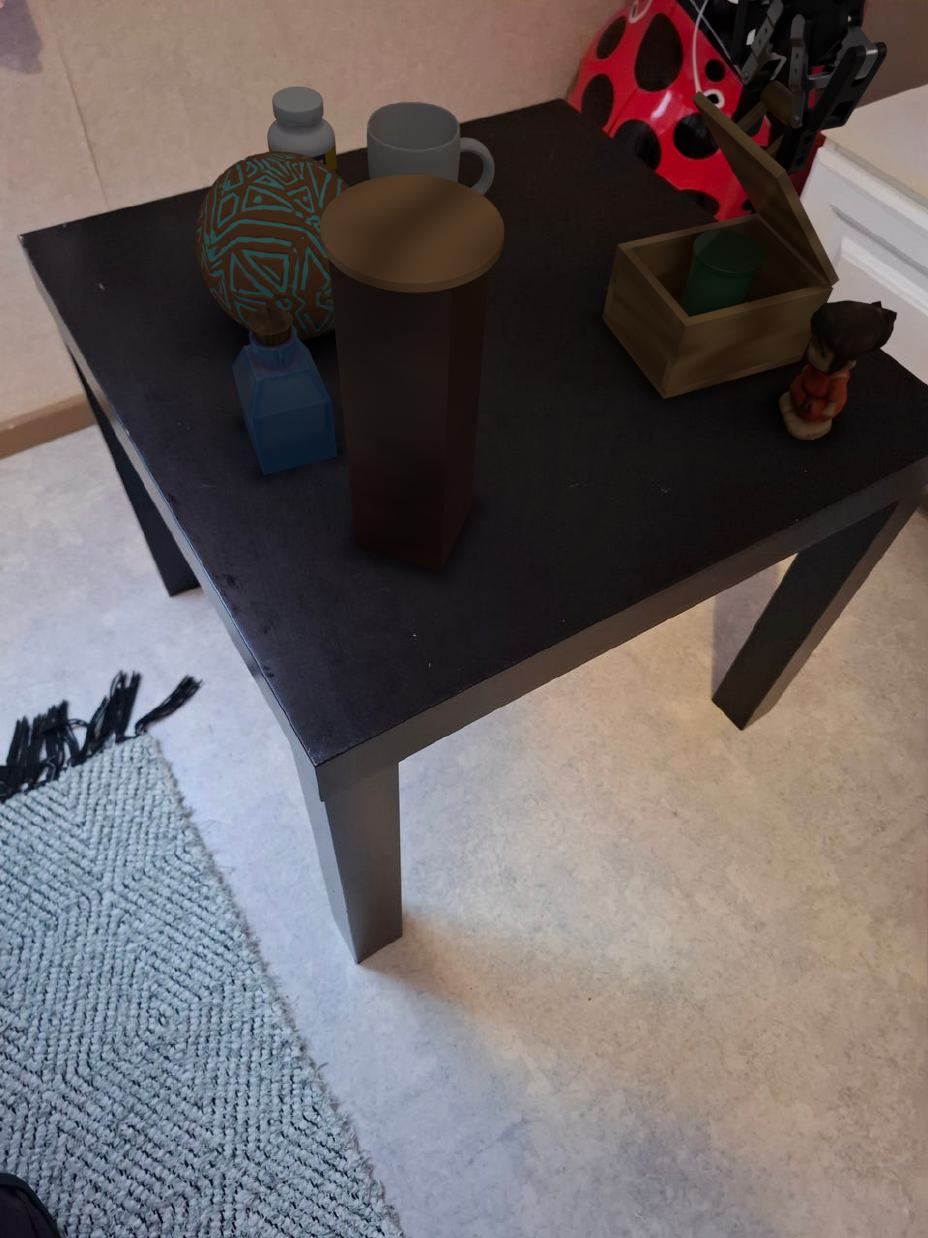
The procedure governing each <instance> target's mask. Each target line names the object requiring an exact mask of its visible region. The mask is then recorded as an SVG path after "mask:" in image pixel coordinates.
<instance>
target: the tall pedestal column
mask: <svg viewBox="0 0 928 1238" xmlns="http://www.w3.org/2000/svg"><path fill="white" fill-rule="evenodd" d="M349 187H350V188H348V189H346V190H345V191H343V192H342V193H340V194H339V195H338V196H336V197H335V198H334V199H333V200H332V201H331V202H330V203H329V204H328V206H327V207H326V209H325V210H324V212H323V215H322V217H321V221H320V237H321V243H322V247H323V250H324V252H325V253H326V255H327V257H328V260H329V271H330V281H331V292H332V302H333V313H334V323H335V329H334V331H335V341H336V342H335V343H336V353H337V364H338V373H339V384H340V394H341V395H340V396H341V403H342V404H341V405H342V406H341V407H342V415H343V416H342V417H343V426H344V438H345V447H346V458H347V467H348V478H349V489H350V501H351V510H352V511H351V512H352V520H353V521H352V522H353V531H354V541H355V547H356V548H359V549H362V550H365V551H368V552H372V553H374V554H377V555H378V554H379V555H381V556H384V557H388V558H390V559H394V560H397V561H400V562H403V563H407V564H410V565H414V566H417V567H420V568H423V569H427V570H430V571H433V572H437V573H439V574H441V573H443V570H444V568H445V565H446V563H447V561H448V559H449V556H450V554H451V552H452V550H453V547H454V545H455V543H456V542H457V538H458V537H459V534H460V532H461V530H462V528H463V526H464V523H465V521H466V519H467V517H468V514H469V512H470V510H471V508H472V497H473V496H472V495H473V481H474V471H475V469H474V468H475V455H476V454H475V453H476V441H477V429H478V418H479V417H478V415H479V404H480V402H479V401H480V390H481V376H482V366H483V365H482V362H483V351H484V349H483V348H484V337H485V324H486V323H485V322H486V310H487V298H488V284H489V272H490V271H489V270H490V269H491V268H492V267H493V266H494V265H495V264H496V262H497V261H498V259H499V258H500V256H501V254H502V252H503V248H504V244H505V225H504V219H503V217H502V216H501V213H500V211H499V210H498V209H497V207H496V206H495V205H494V204H493V203H492V202H491V201H490V200H489V199H488V198H486V196H485V195H484V196H483V195H481V194H480V193H478V192H476V191H475V190H473V189H471V187H469V186H467V185H465V184H462V183H460V182H458V181H457V182H454V181H451V180H447V179H443V178H438V177H433V176H425V175H393V176H385V177H379V178H375V179H371V180H370V179H368V180H365V181H362V182H359V183H356V184H354V185H352V186H349Z"/></svg>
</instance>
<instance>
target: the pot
mask: <svg viewBox="0 0 928 1238" xmlns="http://www.w3.org/2000/svg"><path fill="white" fill-rule="evenodd" d="M692 255H693V258H692V262H691V265H690V269H689V272H688V275H687V279H686V282H685V286H684V289H683V293H682V296H681V299H680V303H679V305H680V307H681V308H682V309H683V310H684V311H685V312H686V314H687V315H688V316H689V317H693V316H696V315H700V314H704V313H708V312H712V311H716V310H720V309H724V308H728V307H732V306H736V305H740V304H744V303H745V302H746V300H747V297H748V294H749V291H750V289H751V286H752V283H753V280H754V278H755V275H756V272H758V271H759V270H760V268H761V267H762V264H763V262H764V258H765V254H764V250H763V248H762V247H761V246H760V244H759V243H758V242H756V241H755V240H754V239H752V238H751V237H749V236H747V235H745V234H742V233H740V232H736V231H731V230H712V231H708V232H705V233H703V234H701V235H699V236H698V237H697V238H696V240H695V242H694V244H693V248H692Z"/></svg>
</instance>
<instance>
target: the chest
mask: <svg viewBox="0 0 928 1238" xmlns="http://www.w3.org/2000/svg"><path fill="white" fill-rule="evenodd" d="M712 230H731V231H736V232H740V233H742V234H745V235H747V236H749V237H751V238H752V239H754V240H755V241H756V242H758V243H759V244H760V246H761V247H762V248H763V250H764V254H765V258H764V262H763V264H762V267H761V268H760V270H759V271H758V272H756V275H755V278H754V280H753V283H752V286H751V289H750V291H749V294H748V297H747V300H746V302H745V303H744V304H740V305H736V306H732V307H728V308H724V309H720V310H716V311H712V312H708V313H704V314H700V315H696V316H693V317H689V316H688V315H687V314H686V312H685V311H684V310H683V309H682V308H681V307H680V305H679V303H680V299H681V296H682V293H683V289H684V286H685V282H686V279H687V275H688V272H689V269H690V265H691V262H692V258H693V255H692V248H693V244H694V242H695V240H696V238H697V237H698V236H699V235H701V234H703V233H705V232H708V231H712ZM615 249H616V250H615V255H614V260H613V264H612V269H611V273H610V280H609V282H608V288H607V292H606V298H605V301H604V302H605V303H604V306H603V312H602V318H601V319H602V321H603V322H604V323H605V324H606V326H607V327H608V329H609V330H610V331H611V333H612V334H613V335H614V336H615V338H616V339H617V340H618V342H619V343H620V344H621V345H622V347H623V348H624V349H625V351H626V352H627V353H628V355H629V356H630V357H631V358H632V360H633V361H634V362H635V364H636V365H637V367H638V368H639V369H640V370H641V372H642V373H643V374H644V376H645V377H646V378H647V380H648V381H649V382H650V383H651V385H652V386H653V387H654V389H655V390H656V391H657V393H658V394H659V395H660V397H662V399H663V400H666V399H669V398H672V397H676V396H680V395H684V394H688V393H690V392H695V391H697V390H701V389H705V388H708V387H711V386H715V385H719V384H723V383H727V382H730V381H733V380H737V379H741V378H745V377H748V376H752V375H756V374H759V373H763V372H765V371H770V370H774V369H778V368H781V367H784V366H787V365H790V364H795V363H799V362H801V360H802V358H803V356H804V354H805V352H806V350H807V349H808V348H807V347H808V346H809V344H810V342H811V340H812V338H813V336H812V333H811V322H810V320H811V317H812V315H813V313H815V312H816V311H817V310H818V309H819V308H820V306H821V305H822V304H823V303H829V302H828V301H829V299H830V297H831V295H832V293H833V291H834V287H833V286H831V285H830V284H829V283H828V282H827V281H826V280H825V279H824V278H823V277H822V276H821V275H820V274H819V273H818V272H817V271H816V270H814V269H813V268H812V267H811V266H810V265H809V264H808V263H807V262H806V261H805V260H804V259H803V258H802V257H801V256H800V255H799V254H798V253H797V252H796V251H795V250H794V249H793V248H792V247H791V246H790V245H789V244H788V243H787V242H786V241H785V240H784V239H783V238H782V237H781V236H780V235H779V234H778V233H777V232H776V231H775V230H774V229H773V228H772V227H771V226H770V225H769V224H768V223H767V222H766V221H765V220H764V219H763V218H762V217H761V216H760V215H759V214H758V213H757V212H755V213H752V214H746V215H742V216H737V217H733V218H730V219H729V218H727V219H724V220H719V221H717V222H716V221H715V222H711V223H707V224H702V225H698V226H697V225H696V226H693V227H688V228H684V229H680V230H675V231H671V232H666V233H662V234H657V235H653V236H649V237H643V238H639V239H636V240H635V239H634V240H630V241H626V242H621V243H618V244H617V245H616V248H615Z"/></svg>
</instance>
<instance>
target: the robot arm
mask: <svg viewBox="0 0 928 1238" xmlns="http://www.w3.org/2000/svg"><path fill="white" fill-rule="evenodd" d="M866 1H867V0H737V6H736V12H735V20H734V26H733V33H732V40H731V46H730V54H729V60H730V63H731V64H732V65H733V66H739V68H740V70H741V71H740V75H739V76H740V82H741V84H742V87H741V91H740V94H739V98H738V101H737V104H736V107H735V108H736V109H735V111H734V115H733V120H732V121H733V122H734V123H735V124H737V123H738V122H739V121H740V120H741V119H742V118H743V117H744V116H745V115H746V114H747V113H748V112H749V111H750V110H751V109H752V108H753V107H754V106H755V105H756V104H757V103H758V102H759V101H760V95H761V92H762V90H763V89H764V88H765V86H766V85H767V84H769V83H770V82H771V81H774V80H775V79H776V77H777V75H778V74H779V72H780V71H781V69H782V67H783V66H784V65H785V63H786V61H787V62H788V64H789V75H788V83H787V84H788V90H790V91H791V92H792V93H793V98H792V107H791V116H790V123H788V124H787V126H786V125H785V129H784V131H783V133H784V135H783V138H782V141H781V143H780V146H779V149H778V152H777V155H776V158H775V159H774V160H775V161H776V162H777V163H779V164H780V165H781V166H782V167H783V168H784V169H785V171H786V173H787V175H788V176H791V175H795V174H797V173H798V172H800V171H801V170H803V169H804V167H805V166H806V165H807V162H808V160H809V156H810V154H811V151H812V149H813V146H814V143H815V140H816V138H817V135H818V132H821V131H822V132H823V131H828V130H833V129H837V128H841V127H844V126H846V124H847V122H848V121H849V119H850V117H851V116H852V114H853V112H854V111H855V109H856V107H857V106H858V104H859V102H860V101H861V99H862V97H863V96H864V94H865V92H866V91H867V90H868V87H869V86H870V84H871V83H872V81H873V79H874V78H875V76H876V74H877V73H878V71H879V69H880V67H881V66H882V64H883V63H884V61H885V59H886V57H887V54H888V46H887V44H886V43H885V42H884V41H878V42H877V41H876V42H871V40H870V39H869V38H868V36H867V35H866V33H865V32H864V31H863V29H862V27H863V23H864V14H865V5H866ZM752 27H754V28H755V29H754V35H753V40H752V42H751V43H750V44H748V38H749V32H750V29H751V28H752ZM821 67H822V68H821ZM816 68H821V71H820V72H818V73H814V74H808V70H809V69H810V70H811V69H816ZM813 90H815V92H814V99H813V106H809V103H810V95H811V93H812V91H813ZM808 106H809V107H808ZM765 115H766V113H765V114H764V115H763V116H761V117H760V118H759V119H758V120H757V121H756V122H755V123H754V124H753V125H752V126H751V127H750V128H749V129H748V130H747V131H746V132H745V133H746V134H747V135H748V136H749V137H750V138H754V137H756V136H757V135H758V134H759V132H760V131H761V128H762V124H763V122H764V119H765Z"/></svg>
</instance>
